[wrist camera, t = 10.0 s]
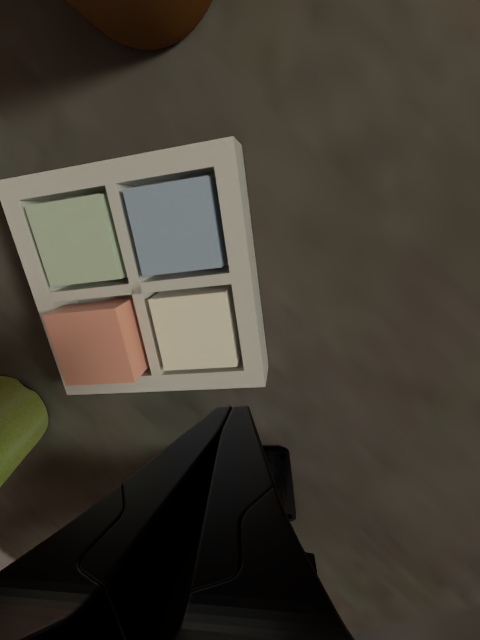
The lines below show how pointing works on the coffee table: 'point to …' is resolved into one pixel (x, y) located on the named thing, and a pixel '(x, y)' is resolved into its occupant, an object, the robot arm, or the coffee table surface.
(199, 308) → the key cream
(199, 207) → the key slate
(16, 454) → the plant pot
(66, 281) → the key sage
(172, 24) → the mug
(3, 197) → the keypad
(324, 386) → the coffee table surface
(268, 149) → the coffee table surface
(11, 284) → the coffee table surface
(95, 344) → the key coral
